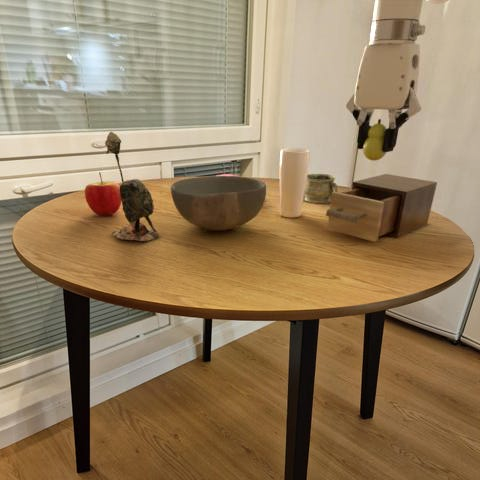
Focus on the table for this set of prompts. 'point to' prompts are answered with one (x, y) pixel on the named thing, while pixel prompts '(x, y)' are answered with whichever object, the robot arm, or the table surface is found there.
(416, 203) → the cabinet
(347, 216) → the drawer
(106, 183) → the apple
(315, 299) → the table surface
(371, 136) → the pear
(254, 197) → the bowl
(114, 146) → the stone bird figurine
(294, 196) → the drinking glass
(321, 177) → the vessel
